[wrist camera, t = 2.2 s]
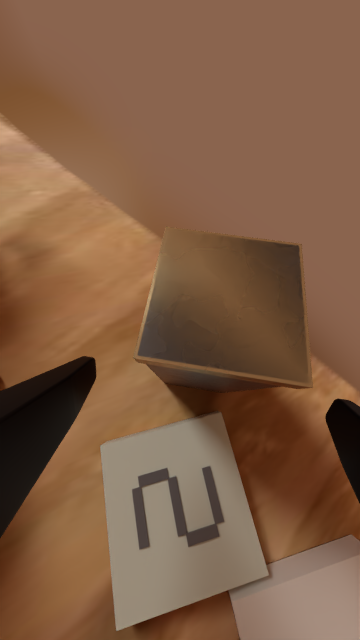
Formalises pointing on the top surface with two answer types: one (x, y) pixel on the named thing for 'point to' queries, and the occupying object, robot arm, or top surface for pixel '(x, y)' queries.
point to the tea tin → (226, 314)
